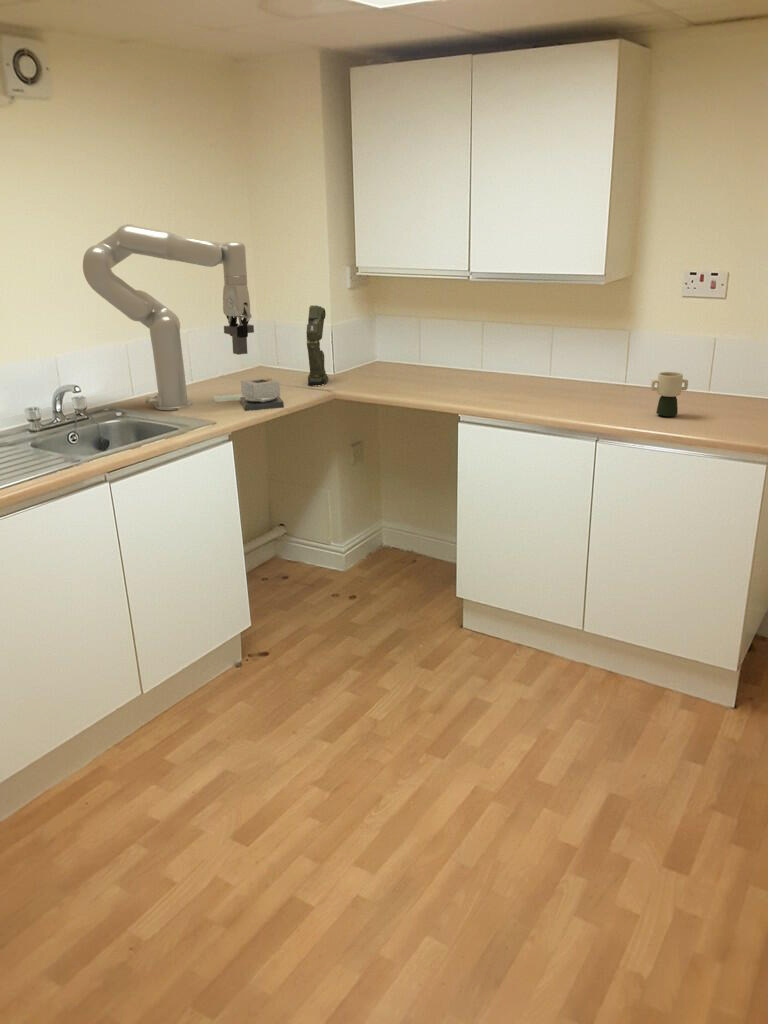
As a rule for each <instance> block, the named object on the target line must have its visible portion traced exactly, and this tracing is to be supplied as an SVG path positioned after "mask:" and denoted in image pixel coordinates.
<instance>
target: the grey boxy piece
mask: <svg viewBox="0 0 768 1024" xmlns="http://www.w3.org/2000/svg"><path fill="white" fill-rule="evenodd" d="M240 384H241V394H242V396H245V400H246V401H249V402H267V401H272V400H275V399H277V396H279V397H281V391H280V390H281V389H280V381H279V380H276V379H272V378H270V377H260V378H259V377H258V378H251V379H245V380H240Z"/></svg>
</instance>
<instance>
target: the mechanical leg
mask: <svg viewBox="0 0 768 1024" xmlns="http://www.w3.org/2000/svg"><path fill="white" fill-rule="evenodd" d="M308 308H309V309H308V319H307V324H306V333H305V334H306V349H307V355H308V363H309V364H308V365H309V366H308V367H309V374H308V375H307V382H308V383H307V386H308V385H322V384H324V383H325V384H327V382H328V381H329V376H328V375H327V373H326V369H325V354H324V351H323V350H322V349H321V346H320V342H321V340H322V339H323V335H324V334H323V332H324V324H325V318H326V309H325V307H323V306H320V305H310V306H309V307H308ZM325 384H324V385H325ZM322 386H323V385H322Z"/></svg>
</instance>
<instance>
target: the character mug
mask: <svg viewBox="0 0 768 1024" xmlns="http://www.w3.org/2000/svg"><path fill="white" fill-rule="evenodd" d="M683 377H684V375H683V373H680V372H677V371H664V372H659V373H658V375H657V379H652V380H651V386H650V387H651V388H650V389H651V391H652V392H653V391H654V392H656V393H657V395H659V396H660V397H659V398H658V399H659V400H658V402H657V403H658V404H657V406H656V407H657V409H656V415H660V416H661V417H663V416H664V417H674V416H677V415H678V414H679V413H678V412H679V411H678V398H677V397H678V396H681V395H682V391H687V390H688V386H689V379H683ZM656 384H657V386H656V387H655V385H656ZM683 384H684V386H682V385H683Z"/></svg>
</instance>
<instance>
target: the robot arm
mask: <svg viewBox="0 0 768 1024" xmlns="http://www.w3.org/2000/svg"><path fill="white" fill-rule="evenodd" d="M132 254H134V255H139V256H145V257H146V256H147V257H153V258H157V259H163V260H168V261H175V262H182V263H187V264H192V265H199V266H203V267H204V266H205V267H210V268H213V267H217V266H218V265H223V266H222V267H223V269H222V270H223V282H224V284H223V289H222V292H223V294H222V312H223V314H224V315H225V317H226V319H227V321H228V324H229V325H228V326H230V325H240V326H239V337H240V338H244V337H247V338H248V336H249V333H248V328H247V325H248V324H249V322H250V320H251V318H252V314H251V303H250V302H251V300H250V293H249V289H248V276H247V273H248V272H247V258H246V254H247V253H246V246H245V244H244V243H243V242H238V241H237V242H236V241H235V242H234V241H230V242H217V241H203V240H196V239H192V238H187V237H183V236H179V235H177V234H174V233H172V232H170V231H169V232H168V231H164V230H163V231H162V230H159V229H152V228H147V227H142V226H137V225H134V224H124V225H121V226H118V228H117V230H116V231H114V232H113V233H112V234H110V235H109V236H107V237H106V238H105V239H103V240H101V241H100V242H98V243H97V244H95V245H91V246H89V248H87V249H86V251H85V252H84V255H83V258H82V259H83V260H82V271H83V275H84V278H85V280H86V282H87V284H88V285H89V286H90V288H91V289H92V290H93V291H94V292H95V293H97V295H99V296H100V297H101V298H103V299H104V300H105V301H107V302H108V303H109V304H110V305H111V306H112V307H114V308H115V309H117V310H118V311H120V312H121V313H122V314H123V315H125V317H127V318H128V319H130V320H132V321H134V322H139V323H141V324H142V325H143V326H145V327H146V328H148V329H149V335H150V342H151V347H152V356H153V362H154V368H155V369H154V370H155V378H156V385H157V386H156V387H157V395H154V396H146V397H145V398H144V399H145V403H146V404H155V405H154V408H155V409H156V410H157V411H158V410H159V411H178V410H180V409H184V408H185V409H186V408H189V407H190V406H193V405H194V404H193V401H192V400H190V399H188V392H187V391H188V390H187V382H186V374H185V365H184V357H183V350H182V349H183V347H182V340H181V321H180V319H179V317H178V315H176V313H174V312H173V311H172V310H171V309H169V308H168V307H167V306H165V305H164V304H163V303H161V302H160V301H159V300H158V299H156V298H154V297H153V296H152V295H151V294H150V293H148V292H146V291H144V290H139V289H135V288H133V287H132V286H130V285H129V284H128V283H127V282H126V281H124V280H123V279H122V278H120V277H119V276H117V275H116V274H115V273H114V272H113V271H112V268H114V267H115V266H117V265H118V264H120V263H121V262H122V261H125V259H127V258H128V257H130V256H131V255H132ZM229 336H230V337H232V335H230V334H229Z"/></svg>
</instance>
